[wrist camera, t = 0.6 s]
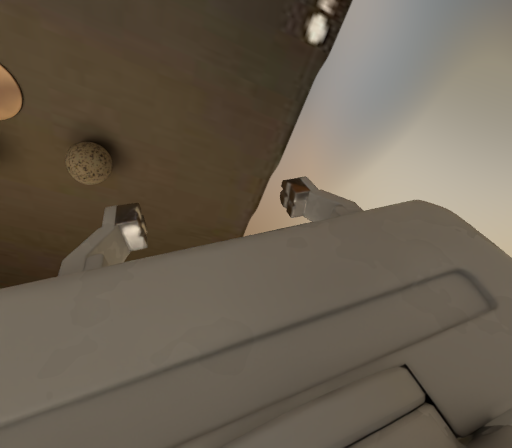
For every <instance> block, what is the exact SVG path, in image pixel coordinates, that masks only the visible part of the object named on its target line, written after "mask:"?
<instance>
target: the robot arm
mask: <svg viewBox="0 0 512 448" xmlns="http://www.w3.org/2000/svg"><path fill="white" fill-rule="evenodd" d="M281 187H282V188H283V190H282V191H281V192H280V200H281V204H282V205H283V207H285V208H287V213H288V214H289V216H290V217H291V218H293V217H300V216H304V217H305V218H307V219H309V220H310V221H312V222H310V223H305V224H300V225H296V226H291V227H286V228H282V229H277V230H272V231H268V232H264V233H259V234H254V235H249V236H245V237H240V238H235V239H231V240H226V241H221V242H217V243H212V244H207V245H203V246H198V247H193V248H189V249H184V250H179V251H175V252H170V253H165V254H161V255H156V256H151V257H147V258H142V259H138V260H133V261H128V262H124V260H125V259H126V257H127V256H128V255H129V253H130V251H134V250H138V249H142V248H147V236H146V233H147V227H146V222H145V218H144V216H143V215H142V214H141V207H140V204H139V203H132V204H125V205H118V206H111V207H106V208H105V212H104V218H103V224H102V228H99V229H97V230H96V231H95V232H94V233H93V234H92V235H91V236H90V237H88V238H87V239H86V240H85V241H84V242H83V243H82V244H81V245H79V246H78V247H77V248H76V249H75V250H74V251H73V252H72V253H70V254H69V255H68V256H67V257H66V258H65V259H64V260H63V261H62V264H61V268H60V271H59V274H58V277H54V278H49V279H45V280H40V281H35V282H31V283H26V284H21V285H17V286H12V287H7V288H3V289H0V448H512V258H511V257H510V256H509V255H507V254H506V253H505V252H504V251H502V250H501V249H500V248H499V247H498V246H496V245H495V244H494V243H492V242H491V241H490V240H489V239H488V238H486V237H485V236H484V235H483V234H481V233H480V232H479V231H477V230H476V229H475V228H473V227H472V226H471V225H470V224H468V223H467V222H465V221H464V220H463V219H462V218H460V217H459V216H458V215H456V214H455V213H453V212H451V211H450V210H448V209H446V208H443V207H441V206H438V205H435V204H432V203H428V202H425V201H422V200H412V201H407V202H402V203H398V204H393V205H389V206H384V207H380V208H375V209H370V210H366V211H363V210H362V209H361V208H360V207H359V206H358V205H357V204H356V203H355V202H352V201H350V200H347V199H345V198H342V197H339V196H337V195H334V194H331V193H329V192H326V191H323V190H318V188H317V187H316V186H315V185H314V184H313V183H312V182H311V181H310V180H309V179H308V178H307V177H300V178H295V179H289V180H283V182H282V185H281ZM123 262H124V263H123Z"/></svg>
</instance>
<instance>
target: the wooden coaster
mask: <svg viewBox="0 0 512 448" xmlns="http://www.w3.org/2000/svg"><path fill="white" fill-rule="evenodd" d="M22 101H23V99H22V93H21V90H20V87H19V85H18V84H17V82H16V80H15V79H14V78H13V76H12V75H11V74H10V73H9V72H8V71H7V70H6V69H5V68H4V67H3V66H2V65H1V64H0V120H5V119H8V118H11V117H13V116H14V115H16V114H17V113H18V112H19V111H20V109H21V107H22Z"/></svg>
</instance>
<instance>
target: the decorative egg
mask: <svg viewBox="0 0 512 448" xmlns="http://www.w3.org/2000/svg"><path fill="white" fill-rule="evenodd" d="M65 161H66V167H67V170H68V172H69V173H70V175H71V176H72V177H73V178H74V179H76V180H77V181H79V182H81V183H83V184H97V183H100V182H102V181H104V180H105V179H107V177H108V176H109V175H110V173H111V171H112V166H113V164H112V159H111V156H110V155H109V153H108V152H107V151H106V150H105V149H104V148H103V147H102V146H100V145H98V144H96V143H92V142H80V143H77V144H75V145H73V146H72V147H71V148H70V149H69V150H68V152H67V154H66V160H65Z"/></svg>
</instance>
